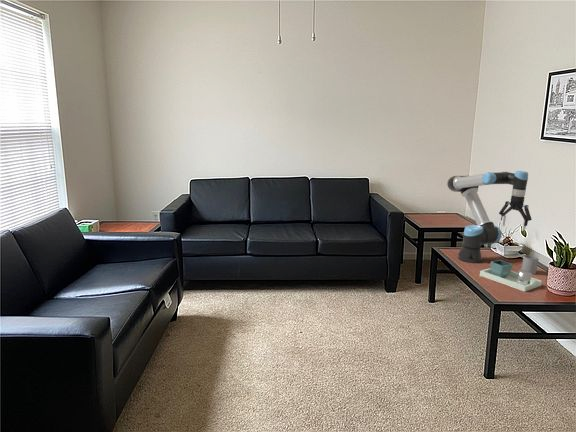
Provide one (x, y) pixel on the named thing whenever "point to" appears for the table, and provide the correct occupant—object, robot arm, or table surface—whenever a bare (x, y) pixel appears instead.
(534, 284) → the shallow serving tray
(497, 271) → the flower pot
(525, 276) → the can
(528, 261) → the cup
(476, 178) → the robot arm
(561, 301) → the table surface
